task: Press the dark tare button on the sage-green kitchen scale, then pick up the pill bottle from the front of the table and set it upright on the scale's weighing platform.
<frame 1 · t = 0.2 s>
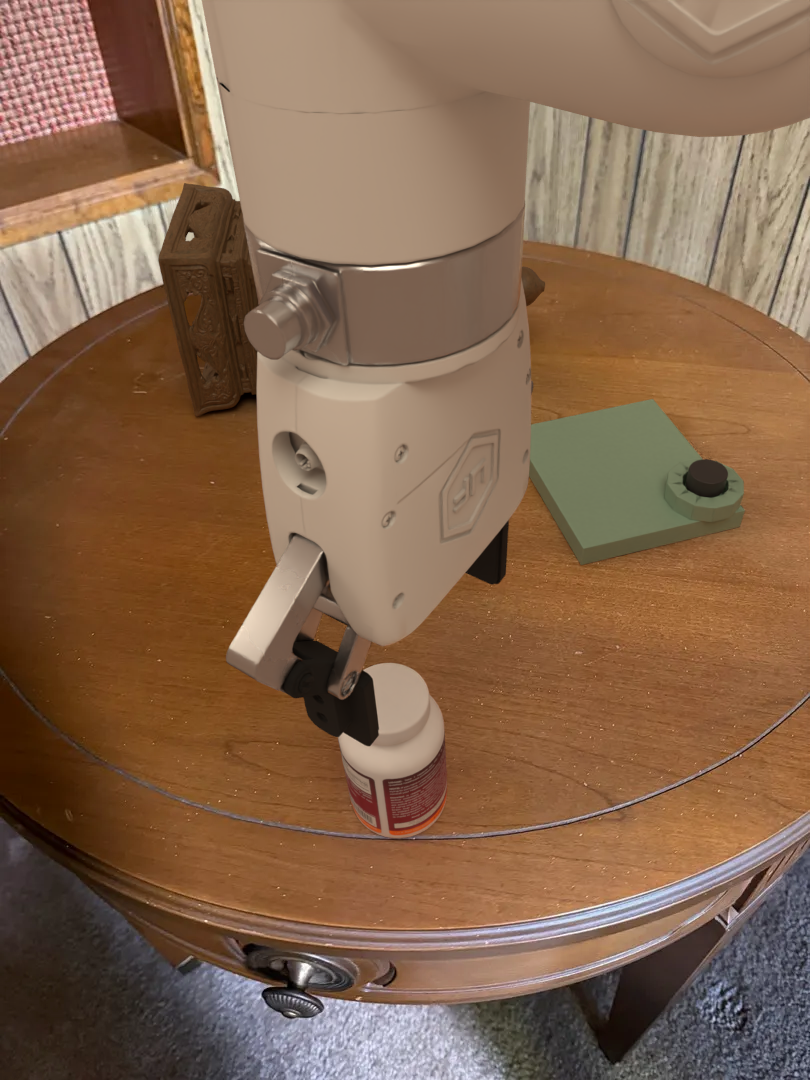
hand: (412, 641, 36), 21 cm above the table, tool pointing down, fingers open, 9 cm apart
brown lantern: (372, 366, 89), on the table
tare button: (706, 478, 68), point 4 cm above the table, slide at 0.1 cm
scale: (618, 483, 74), on the table
pill bottle: (398, 797, 54), on the table
watch: (334, 576, 68), on the table
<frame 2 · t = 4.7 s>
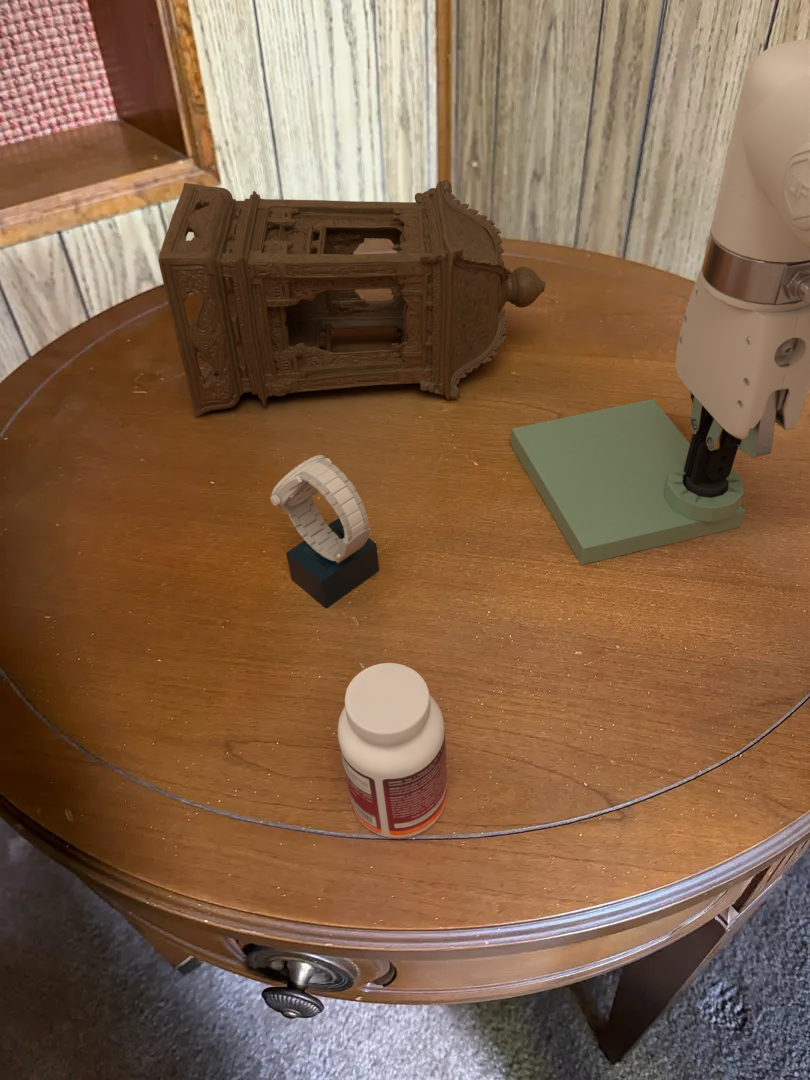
hand: (705, 475, 68), 4 cm above the table, tool pointing down, fingers closed
tare button: (705, 484, 69), point 3 cm above the table, slide at -0.5 cm, touching gripper
everything else where it was.
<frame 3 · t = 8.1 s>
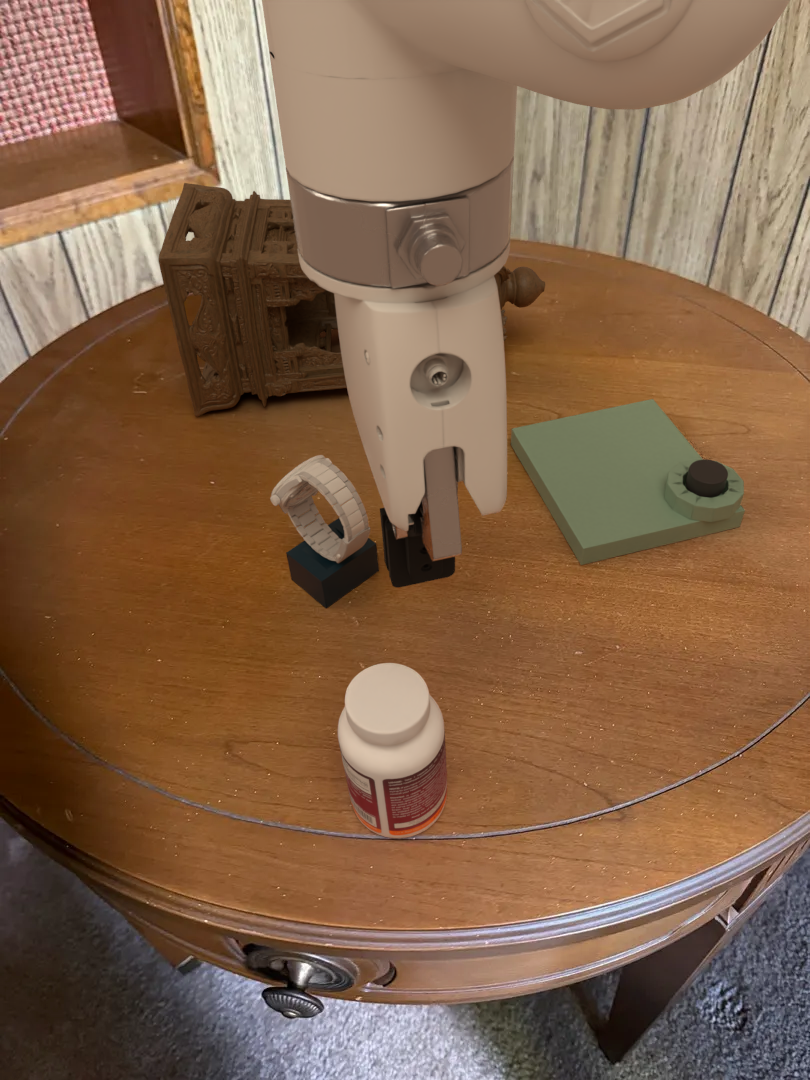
hand: (419, 570, 42), 19 cm above the table, tool pointing down, fingers closed
tare button: (706, 478, 68), point 4 cm above the table, slide at 0.1 cm
everything else where it was.
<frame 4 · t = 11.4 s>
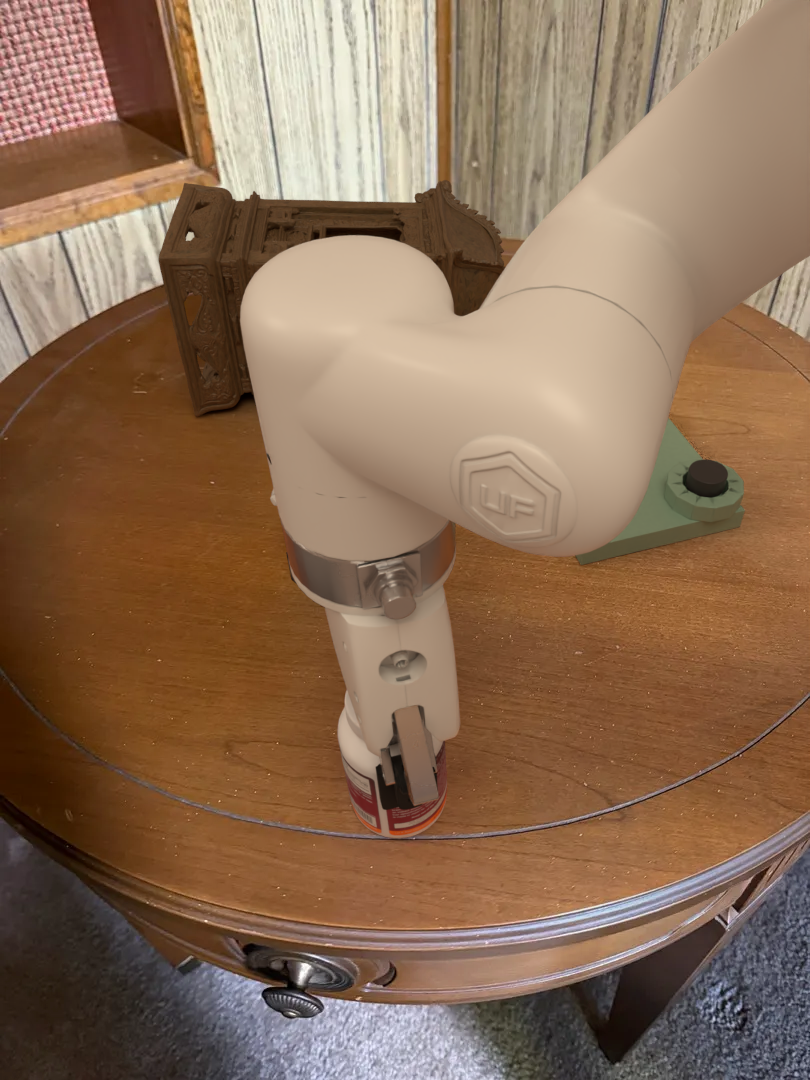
hand: (393, 745, 50), 6 cm above the table, tool pointing down, fingers closed on pill bottle, 6 cm apart
pill bottle: (399, 797, 54), on the table, touching gripper
everything else where it was.
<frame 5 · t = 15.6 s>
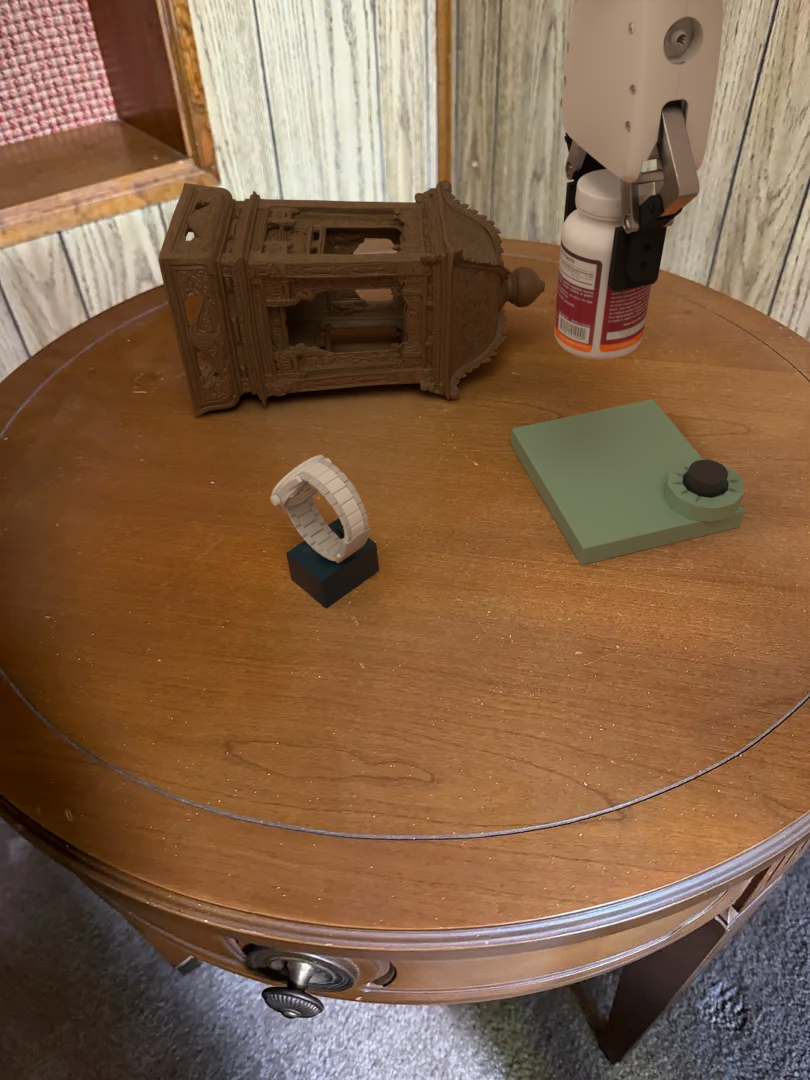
hand: (607, 258, 56), 23 cm above the table, tool pointing down, fingers closed on pill bottle, 6 cm apart
pill bottle: (596, 341, 60), point 16 cm above the table, touching gripper
everything else where it was.
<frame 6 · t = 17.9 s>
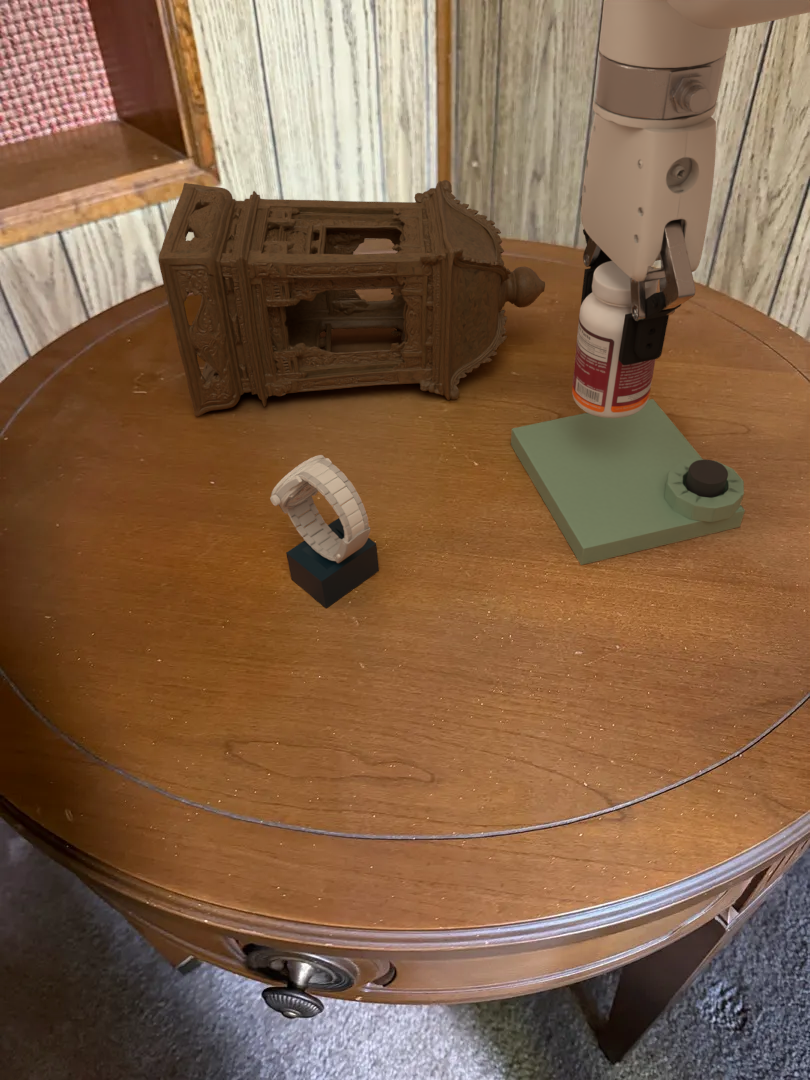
hand: (618, 334, 65), 14 cm above the table, tool pointing down, fingers closed on pill bottle, 6 cm apart
pill bottle: (608, 400, 70), point 8 cm above the table, touching gripper
everything else where it was.
when the fingers open (8 cm above the table, at t = 19.8 s): pill bottle stays where it is, resting on scale.
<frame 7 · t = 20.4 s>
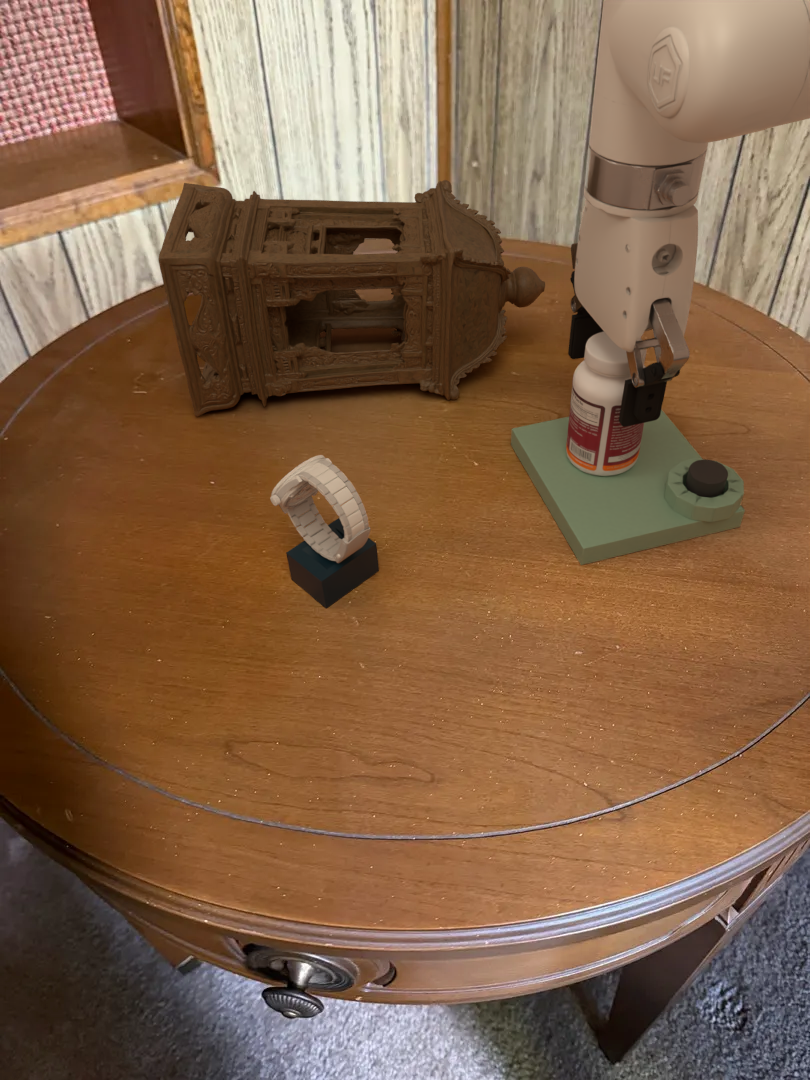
hand: (611, 386, 69), 9 cm above the table, tool pointing down, fingers open, 9 cm apart
pill bottle: (600, 457, 74), point 2 cm above the table, touching scale
everything else where it was.
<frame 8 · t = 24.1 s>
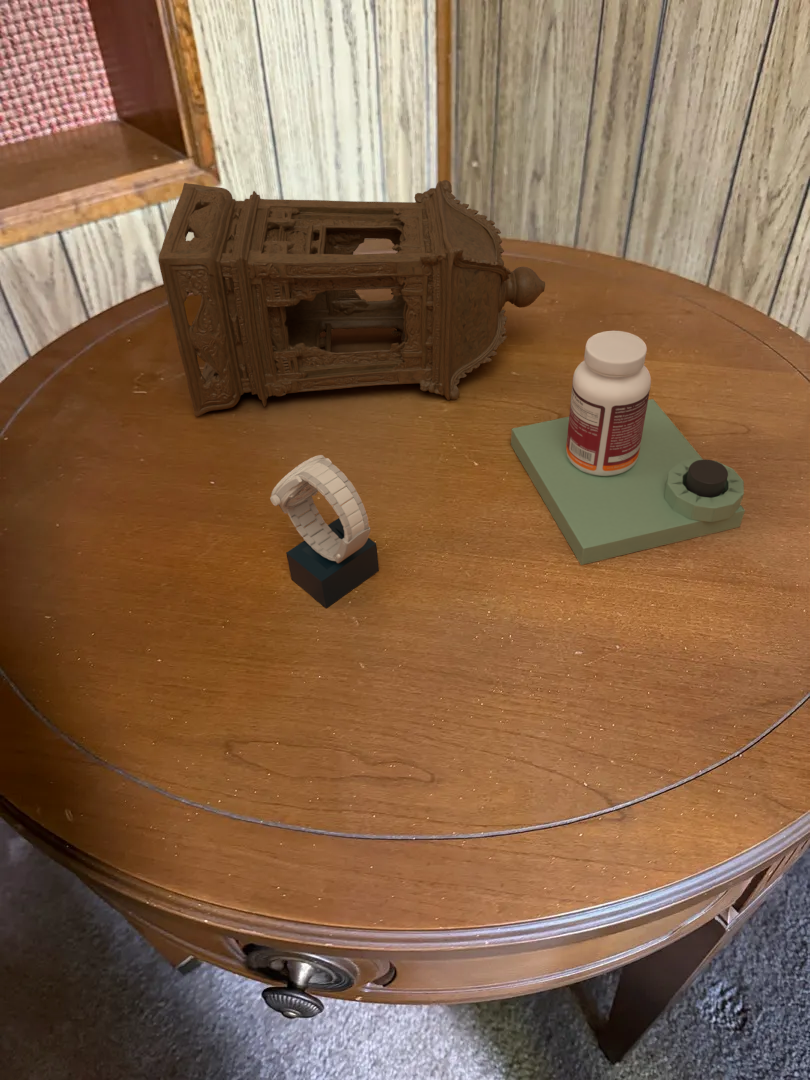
nothing on the table moved.
at the end: tare button pushed in 0.9 cm at the most during the clip, back to where it started at the end; pill bottle inside the target area on the scale (1.2 cm from its centre), point 1.7 cm above the scale's base; pill bottle tilted 0° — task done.
